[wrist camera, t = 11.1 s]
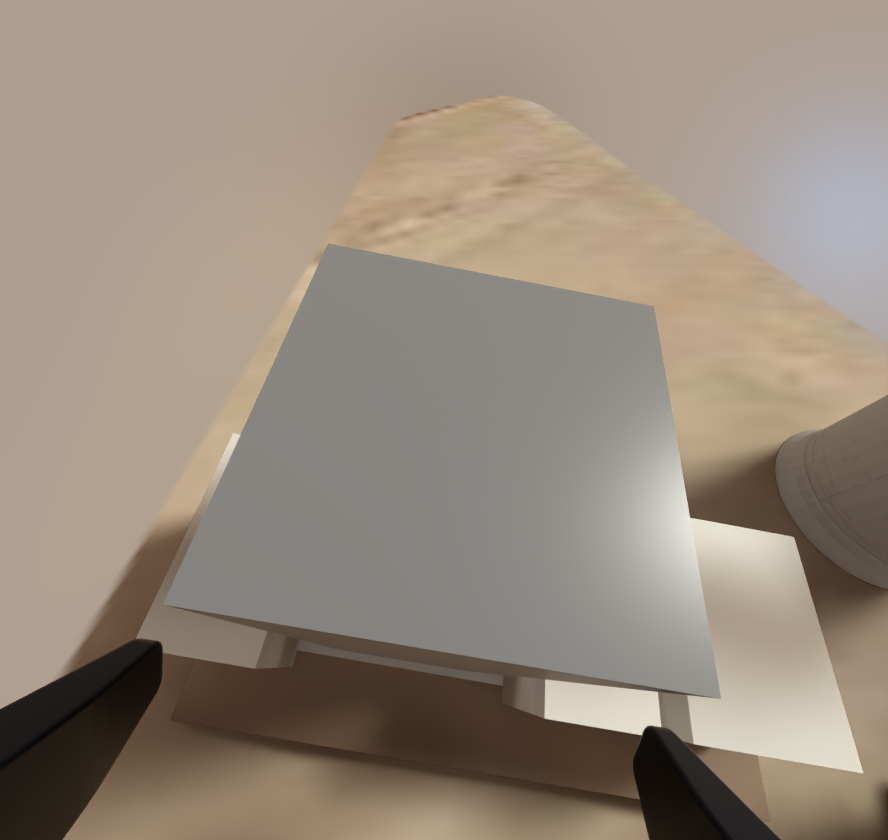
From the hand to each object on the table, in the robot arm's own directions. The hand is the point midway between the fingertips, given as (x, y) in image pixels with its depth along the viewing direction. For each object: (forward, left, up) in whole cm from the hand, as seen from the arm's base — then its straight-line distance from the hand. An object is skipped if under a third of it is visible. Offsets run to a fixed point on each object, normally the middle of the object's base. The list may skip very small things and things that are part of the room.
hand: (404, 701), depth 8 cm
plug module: (+2, +2, -7) cm, 8 cm away
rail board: (+4, +1, -9) cm, 10 cm away
